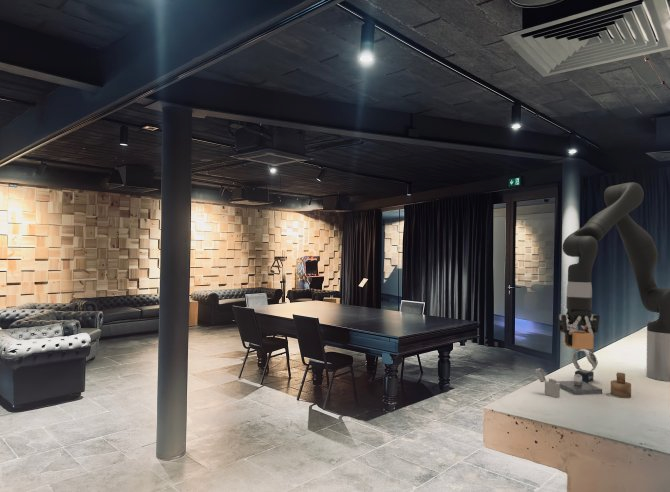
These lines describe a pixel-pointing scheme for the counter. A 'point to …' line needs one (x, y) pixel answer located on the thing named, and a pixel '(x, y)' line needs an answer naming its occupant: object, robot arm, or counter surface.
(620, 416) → the counter surface
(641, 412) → the counter surface
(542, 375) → the lighter
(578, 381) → the gray square plate
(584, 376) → the watch
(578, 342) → the orange square tube
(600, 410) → the counter surface
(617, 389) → the stand
